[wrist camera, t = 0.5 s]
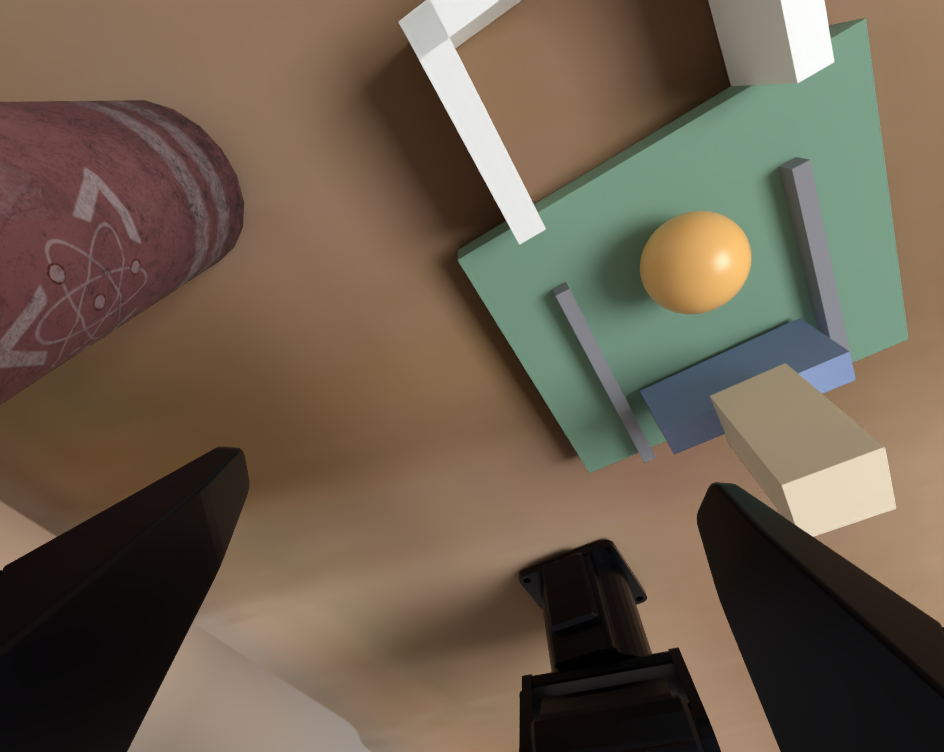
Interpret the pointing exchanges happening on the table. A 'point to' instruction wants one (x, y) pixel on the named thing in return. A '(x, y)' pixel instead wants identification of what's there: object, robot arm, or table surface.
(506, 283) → the panel
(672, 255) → the ball
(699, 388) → the beige and blue block
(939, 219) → the table surface
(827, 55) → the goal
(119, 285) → the can
